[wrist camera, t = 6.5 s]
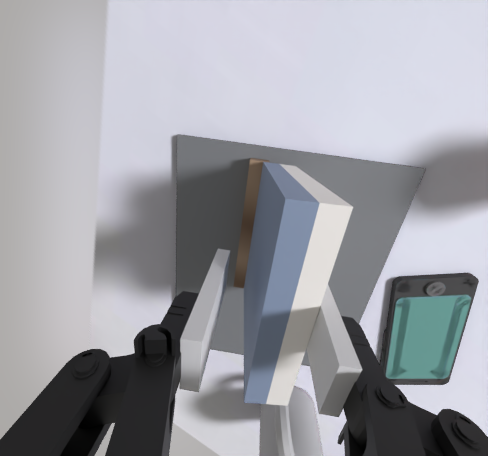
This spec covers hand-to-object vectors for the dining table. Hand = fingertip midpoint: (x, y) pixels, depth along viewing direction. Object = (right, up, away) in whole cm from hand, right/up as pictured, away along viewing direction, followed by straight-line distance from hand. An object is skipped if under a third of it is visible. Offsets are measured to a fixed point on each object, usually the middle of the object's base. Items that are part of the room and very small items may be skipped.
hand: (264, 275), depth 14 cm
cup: (+4, -20, +17) cm, 26 cm away
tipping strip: (-1, +3, +8) cm, 8 cm away
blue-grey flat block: (+1, +2, +6) cm, 6 cm away
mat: (+2, -2, +9) cm, 10 cm away
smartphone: (+18, -8, +11) cm, 23 cm away
